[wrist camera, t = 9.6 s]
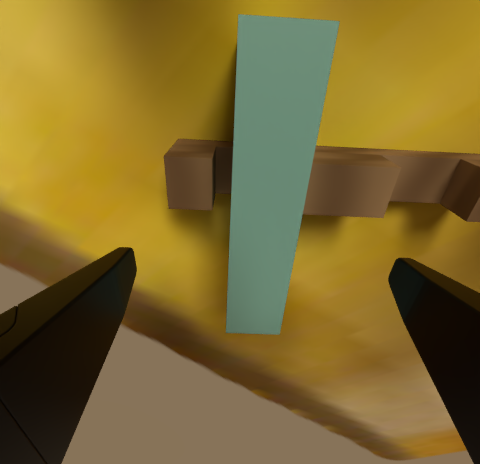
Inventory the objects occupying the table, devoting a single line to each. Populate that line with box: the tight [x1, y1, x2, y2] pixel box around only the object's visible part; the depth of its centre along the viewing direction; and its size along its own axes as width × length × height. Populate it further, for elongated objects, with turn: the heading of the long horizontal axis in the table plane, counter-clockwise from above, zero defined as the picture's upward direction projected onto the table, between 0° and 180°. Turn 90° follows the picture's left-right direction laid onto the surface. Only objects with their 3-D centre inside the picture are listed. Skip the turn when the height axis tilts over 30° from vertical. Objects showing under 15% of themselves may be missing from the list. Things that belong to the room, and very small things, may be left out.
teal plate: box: [226, 14, 340, 335], centre depth 15 cm, size 14×3×8 cm, turn 177°
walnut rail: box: [164, 139, 480, 222], centre depth 17 cm, size 20×3×4 cm, turn 87°
